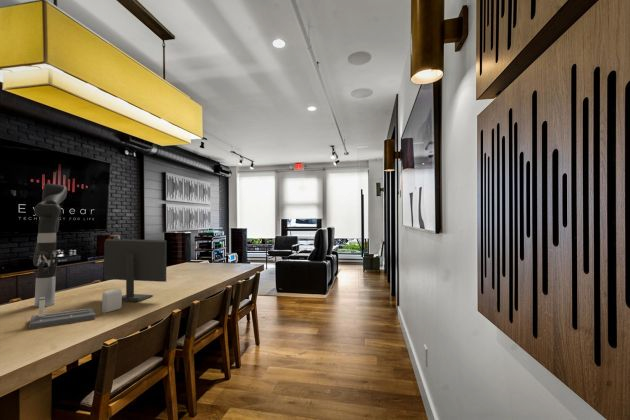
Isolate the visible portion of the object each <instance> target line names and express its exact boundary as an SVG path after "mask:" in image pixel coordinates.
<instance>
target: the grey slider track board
mask: <svg viewBox="0 0 630 420" xmlns="http://www.w3.org/2000/svg"><path fill="white" fill-rule="evenodd" d="M44 315H45V317H38V318H37V316H39V314H34V315H31V317H30V321H29V325H28V329H29V330H34V329H39V328H47V327H52V326H58V325H59V324H60V325H65V324H71V323H78V322H84V321H90V320H95V319H96V312H95V309H94V307H87V308H81V309H79V308H78V309H71V310H65V311H57V312H51V313H50V312H49V313H44Z"/></svg>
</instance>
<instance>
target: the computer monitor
mask: <svg viewBox="0 0 630 420" xmlns="http://www.w3.org/2000/svg"><path fill="white" fill-rule="evenodd" d="M167 242H168V241H167V240H165V239H164V240H163V239H131V238H129V239H126V238H125V239H124V238H106V239H105V240H104V244H103V245H104V247H103V252H104V253H103V254H104V255H103V256H104V257H103V260H104V261H103V277H104V279H105V280H112V281H113V280H114V281H115V280H116V281H117V280H118V281H125V283H126V284H125V286H126V287H125V294H122V302H123V303H124V302H125V303H126V302H127V303H129V302H130V303H139V302H142V301H144V300H147V299H150V298H152V297H153V296H154V295H153V294H140V293H135V282H136V281H138V282H140V281H141V282H161V283H165V282H166V283H167V261H168V259H167V258H168V257H167V255H168V254H167V252H168V251H167V247H168V245H167Z"/></svg>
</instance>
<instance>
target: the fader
mask: <svg viewBox="0 0 630 420" xmlns="http://www.w3.org/2000/svg"><path fill="white" fill-rule="evenodd" d="M45 307H46V306H45V297H40V298H39V307H38V315H39V316H37V318H38V317H45V315H44V314H45Z"/></svg>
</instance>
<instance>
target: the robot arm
mask: <svg viewBox="0 0 630 420" xmlns="http://www.w3.org/2000/svg"><path fill="white" fill-rule="evenodd" d="M67 194H68V188H67V186H65V185H63V184H56V183H49V182H48V183H45V184H44V186H43V188H42V199H41V201H40V202H39V203H37V204H36V205H35V207H34V209H33V214H34V215H35V216H37V217H38V218H39V222H38V226H37V227H38V229H37V230H38V231H37V238H36V239H37V240H36V244H35V250H34V254H33V258H32V262H33V263H32V264H33V265H34V266H35V267H37V273H36V274H35V287H34V289H35V290H34V307H35V308H39V298H40V297H45V307H50V306H53V305H55V297H56V296H55V295H56V277H57V276H56V275H57V274H56V273H57V268H58V267H57V266H58V260H59V259H58V257H59V255H58V252H57V251H56V250H57V233H58V231H59V227H60V219H59V217H60V215H61V213H62V212H61V211H62V208H61V206H60V204H61V203H62V202H63V201H64V200H65V199H66V198H67ZM44 267H46V268H44Z"/></svg>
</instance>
